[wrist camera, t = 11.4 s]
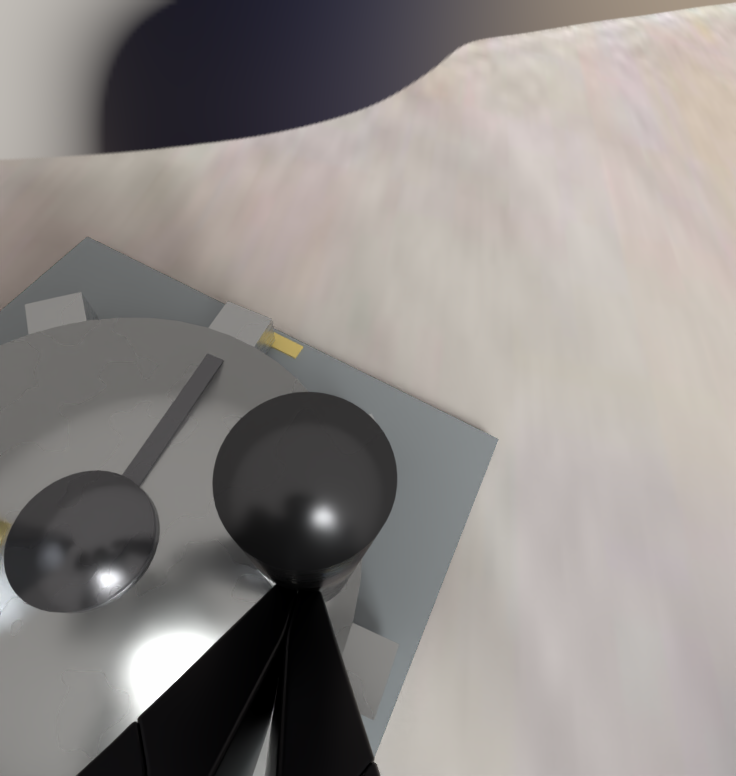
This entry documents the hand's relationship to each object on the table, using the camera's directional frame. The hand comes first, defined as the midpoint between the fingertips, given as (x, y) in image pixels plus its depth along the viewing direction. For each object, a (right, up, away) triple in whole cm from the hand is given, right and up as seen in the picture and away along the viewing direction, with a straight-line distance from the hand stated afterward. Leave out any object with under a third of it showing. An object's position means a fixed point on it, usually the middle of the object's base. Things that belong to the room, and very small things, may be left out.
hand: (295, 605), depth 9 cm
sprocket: (-6, -1, +6) cm, 9 cm away
